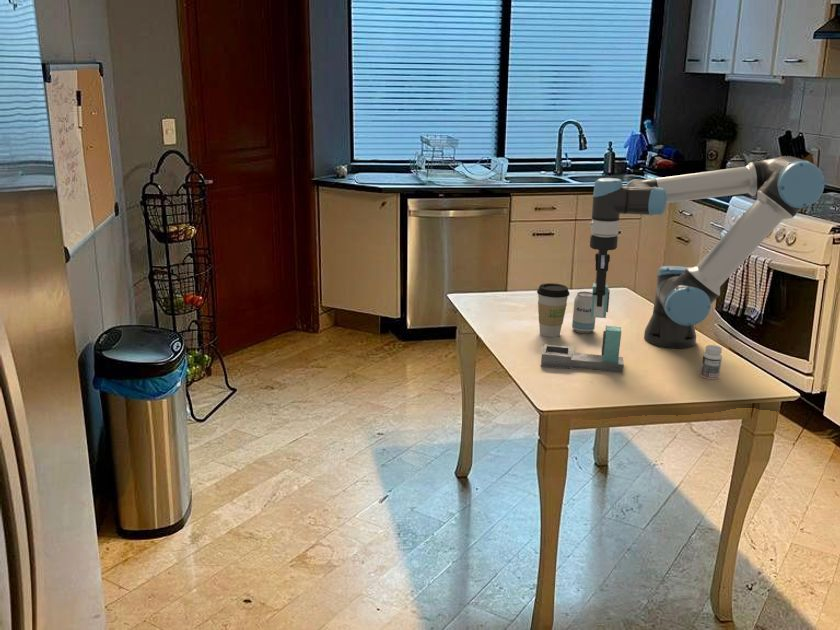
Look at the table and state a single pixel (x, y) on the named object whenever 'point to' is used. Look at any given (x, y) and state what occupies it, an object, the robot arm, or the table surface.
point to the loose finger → (606, 300)
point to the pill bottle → (711, 362)
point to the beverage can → (583, 313)
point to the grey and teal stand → (587, 355)
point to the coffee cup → (551, 308)
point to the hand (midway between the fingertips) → (598, 313)
